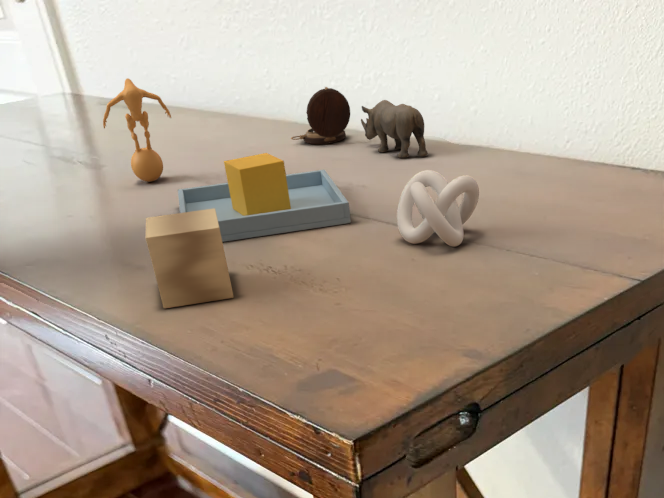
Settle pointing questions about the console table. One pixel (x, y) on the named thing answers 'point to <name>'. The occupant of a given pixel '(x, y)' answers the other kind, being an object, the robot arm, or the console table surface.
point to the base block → (188, 258)
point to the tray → (306, 211)
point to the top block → (257, 184)
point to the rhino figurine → (395, 126)
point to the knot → (436, 207)
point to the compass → (326, 117)
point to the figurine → (144, 159)
